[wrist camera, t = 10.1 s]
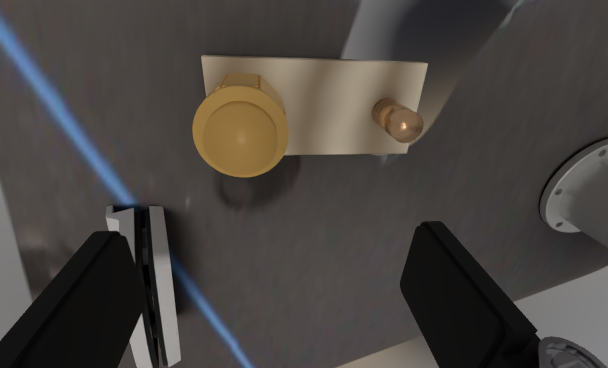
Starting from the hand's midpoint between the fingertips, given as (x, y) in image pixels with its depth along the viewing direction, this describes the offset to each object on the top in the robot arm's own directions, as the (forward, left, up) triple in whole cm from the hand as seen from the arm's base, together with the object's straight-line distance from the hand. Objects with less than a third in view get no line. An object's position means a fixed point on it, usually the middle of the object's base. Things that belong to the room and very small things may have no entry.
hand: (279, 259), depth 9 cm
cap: (+2, -1, -17) cm, 17 cm away
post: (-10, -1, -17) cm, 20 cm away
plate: (-4, -1, -18) cm, 18 cm away
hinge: (+12, +17, -18) cm, 28 cm away
